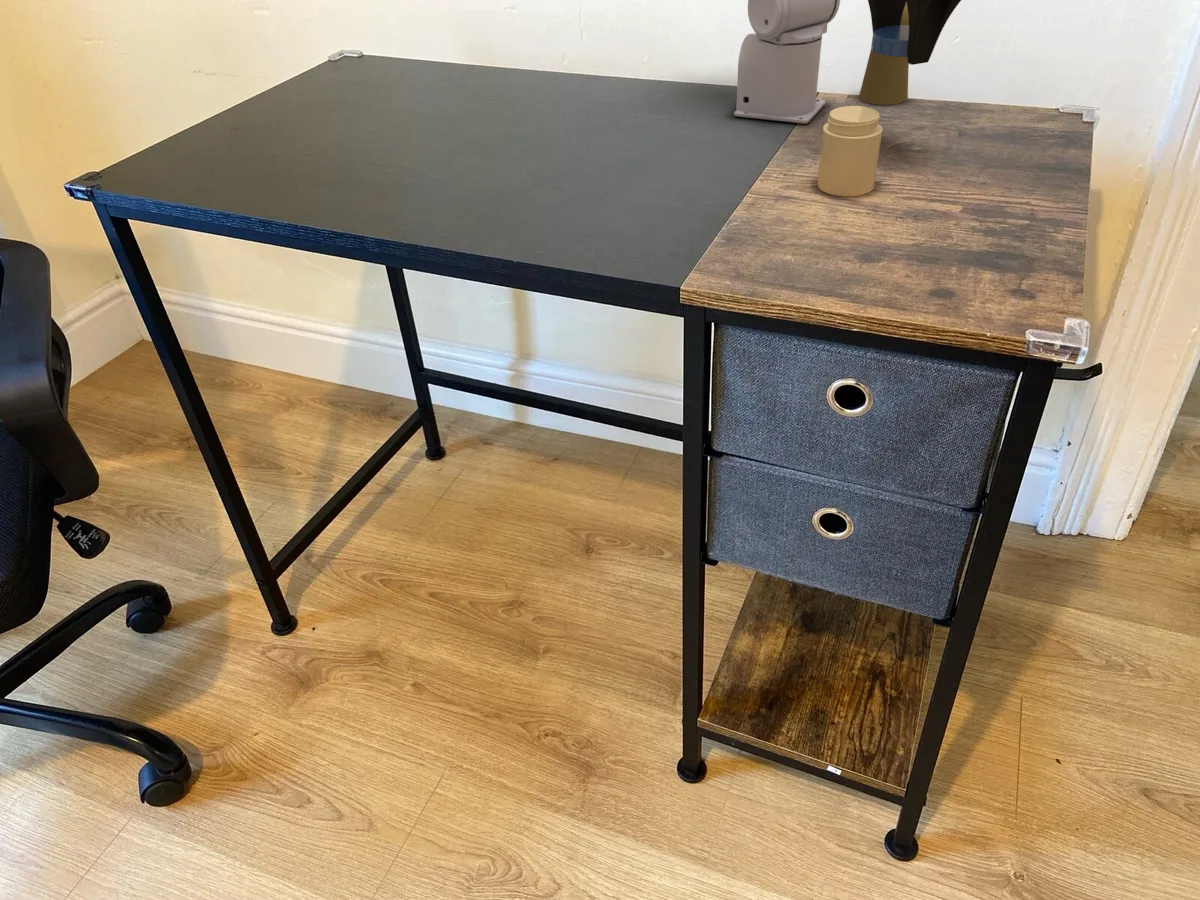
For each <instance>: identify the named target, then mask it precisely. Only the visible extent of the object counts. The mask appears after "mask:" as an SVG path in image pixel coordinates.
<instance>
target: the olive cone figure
mask: <svg viewBox="0 0 1200 900" xmlns="http://www.w3.org/2000/svg"><path fill="white" fill-rule="evenodd" d="M900 25H909V16H908V8H907V3H906V4H905V7H904V10H903V14H902V19H901V23H900ZM909 65H910V64H909V63H908V59H907V57H893V56H886V55H881V54H878V53H876V52H874V51H873V50H872V47H871V46H870V50H869V56H868V59H867V63H866V67H865V71H864V75H863V79H862V82H861V87H860V91H859V95H858V98H859V100H860V101H862V102H863V103H867V104H870V105H877V106H892V105H893V106H894V105H899V104H901V103H905V102H906V101H908V98H909V70H910V69H909Z"/></svg>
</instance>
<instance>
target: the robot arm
mask: <svg viewBox="0 0 1200 900" xmlns="http://www.w3.org/2000/svg"><path fill="white" fill-rule="evenodd" d="M961 2H962V0H867V3H868V6H869V13H870V18H871V28H872V37H873V36H874V31H875V30H877V29H879V28H882V27H886V26H894V25H900V23H901V19H902V14H903V10H904V7H905V4H906V3H907V8H908V16H909V36H908V48H907V59H908V63H909V65H911V66H913V65H920V64H927V63H929V61H930V59H931V57H932V54H933V52H934V49H935V48H936V44H937V43H938V40H939V38H940V35H941V33H942V31H943V29H944V27H945V25H946V24H947V21H948V20H949V18H950V16H951V15H952V14H953V12H954V11H955V9H956V8H957V7H958V5H959V4H960V3H961ZM840 5H841V0H747V17H748V20H749V24H750V26H751V28H752V30H753V31H754V33H749V34H748V33H747V34H746V36H745V37H744V39H743V41H742V43H741V46H740V50H739V55H738V62H737V81H736V82H737V85H736V107H735V108H736V110H735V111H734V112H733V115H734V117H740V118H749V119H757V120H767V121H776V122H786V123H794V124H803V125H805V124H808V123H809V122H811V120H812V119H813V118H814V117H815V116H816V115H817V114H818V113H819V112H820V111H821V109H822V108H823V107H825V105H826V100H825V99H818V98H817V92H818V82H819V73H820V64H821V63H820V62H821V52H822V41H823V35H824V34H827V33H828V32H827V31H828V25H829V24H830V23H831V22H832V21H834V18H835V17H836V16H837V14H838V11H839V8H840Z"/></svg>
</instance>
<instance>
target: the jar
mask: <svg viewBox="0 0 1200 900" xmlns="http://www.w3.org/2000/svg"><path fill="white" fill-rule="evenodd" d="M880 119H881V115H880V113H879V111H878V110H876V109H874V108H871V107H868V106H867V107H866V106H861V105H846V106H839V107H836V108H834V109H832V110H831V111H830V112H829V116H828V118H827V122H826V123H825V124H823V127H822V133H821V134H822V135H821V146H820V153H819V164H818V173H817V181H816V182H817V183H816V185H817V186H816V187H817V188H818V189H819V190H820V191H822V192H824V193H826V194H828V195H830V196H831V195H833V196H837V197H858V196H859V197H860V196H863V195H866V194H869V193H870V192H872V191H873V190H874V188H875V183H876V176H877V170H878V163H879V156H880V149H881V142H882V135H883V126H882V125H881V124H880V123H879V121H880Z"/></svg>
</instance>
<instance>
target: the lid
mask: <svg viewBox="0 0 1200 900" xmlns="http://www.w3.org/2000/svg"><path fill="white" fill-rule="evenodd" d="M908 36H909V25H894V26H886V27H882V28H879V29H877V30H875V31H874V36H873V35H872V37H871V44H870V45H871V46H870V48H871V47H872V50H873V51H874V52H876V53H878V54H881V55H886V56H893V57H907V48H908Z"/></svg>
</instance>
